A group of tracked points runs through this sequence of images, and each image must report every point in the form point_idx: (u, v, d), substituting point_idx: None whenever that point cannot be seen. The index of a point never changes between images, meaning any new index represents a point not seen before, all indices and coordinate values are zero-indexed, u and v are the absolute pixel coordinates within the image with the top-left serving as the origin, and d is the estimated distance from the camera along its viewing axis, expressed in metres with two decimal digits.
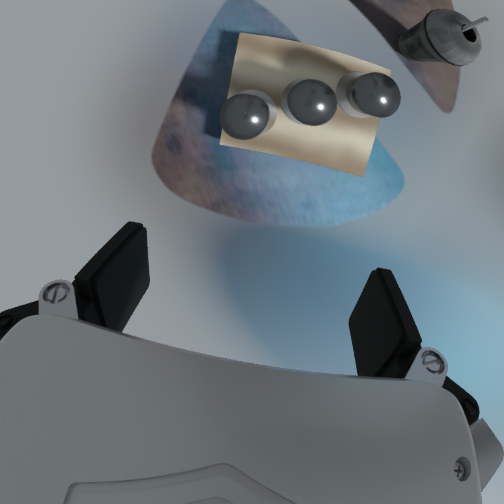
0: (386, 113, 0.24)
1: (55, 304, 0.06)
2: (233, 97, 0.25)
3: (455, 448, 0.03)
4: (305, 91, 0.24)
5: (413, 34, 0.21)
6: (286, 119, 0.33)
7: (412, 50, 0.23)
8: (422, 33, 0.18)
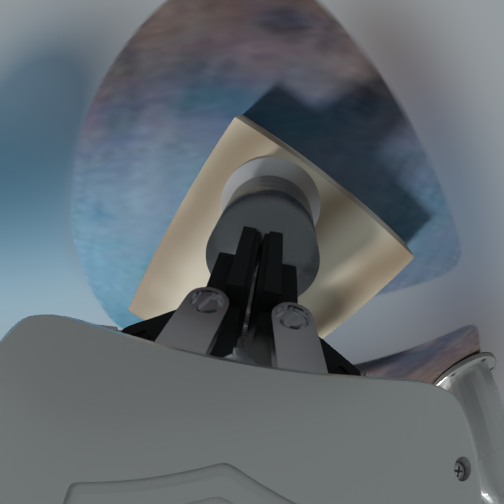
0: None
1: (198, 312, 0.07)
2: (315, 264, 0.12)
3: (455, 448, 0.03)
4: None
5: None
6: None
7: None
8: None
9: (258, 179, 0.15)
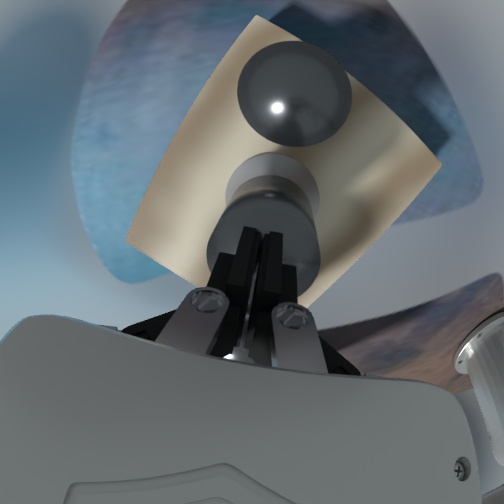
0: None
1: (198, 312, 0.07)
2: (348, 96, 0.10)
3: (455, 448, 0.03)
4: (292, 259, 0.12)
5: None
6: (251, 152, 0.17)
7: None
8: None
9: None
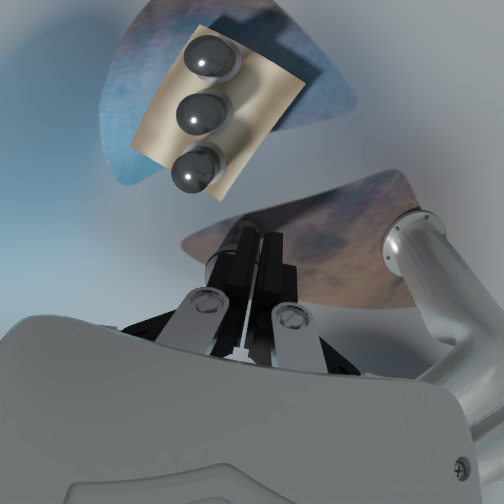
0: (174, 175, 0.32)
1: (198, 312, 0.07)
2: (226, 52, 0.24)
3: (455, 448, 0.03)
4: (207, 111, 0.27)
5: None
6: (198, 89, 0.31)
7: (235, 231, 0.39)
8: None
9: None
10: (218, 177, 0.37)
